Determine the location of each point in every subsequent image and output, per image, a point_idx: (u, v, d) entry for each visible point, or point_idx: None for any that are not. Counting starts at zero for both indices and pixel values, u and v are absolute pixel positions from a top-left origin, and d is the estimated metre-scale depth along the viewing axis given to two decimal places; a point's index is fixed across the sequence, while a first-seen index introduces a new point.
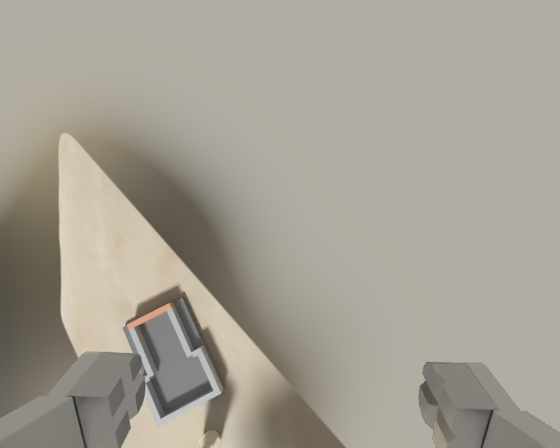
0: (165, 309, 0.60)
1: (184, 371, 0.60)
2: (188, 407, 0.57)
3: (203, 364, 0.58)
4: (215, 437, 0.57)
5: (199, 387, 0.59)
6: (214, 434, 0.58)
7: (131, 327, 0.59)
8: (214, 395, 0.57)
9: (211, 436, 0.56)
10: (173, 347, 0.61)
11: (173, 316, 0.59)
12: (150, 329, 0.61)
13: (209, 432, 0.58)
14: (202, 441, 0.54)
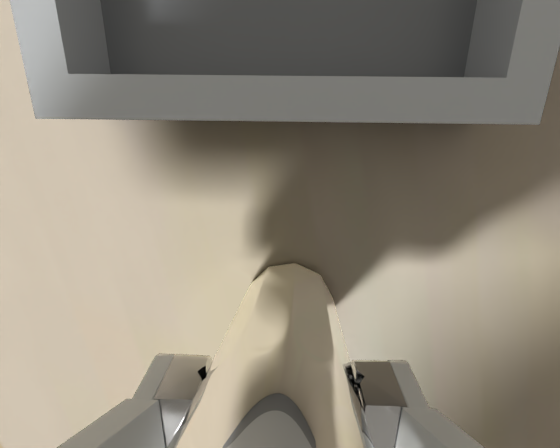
0: None
1: None
2: (284, 98, 0.08)
3: None
4: (336, 323, 0.10)
5: (372, 32, 0.09)
6: (329, 302, 0.11)
7: None
8: (491, 113, 0.08)
9: (328, 314, 0.10)
10: None
11: None
12: None
13: (306, 280, 0.11)
14: (302, 349, 0.07)
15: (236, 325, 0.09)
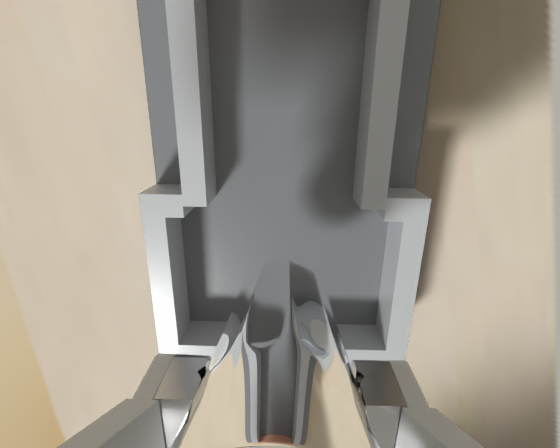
0: None
1: (305, 237, 0.16)
2: None
3: (404, 261, 0.14)
4: (332, 318, 0.11)
5: None
6: (323, 298, 0.11)
7: None
8: None
9: (324, 309, 0.10)
10: (306, 140, 0.15)
11: None
12: (248, 16, 0.13)
13: (301, 277, 0.11)
14: (302, 343, 0.07)
15: (233, 322, 0.09)
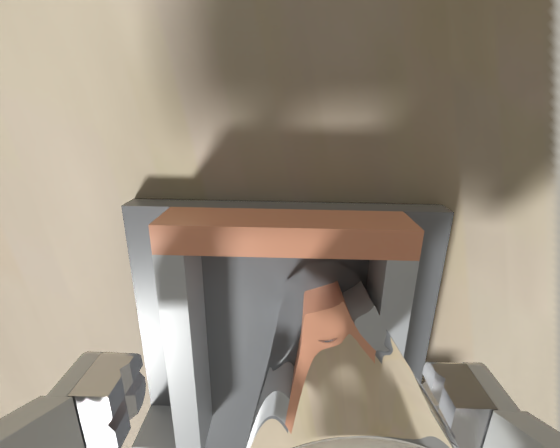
0: (384, 252, 0.10)
1: None
2: None
3: None
4: None
5: None
6: None
7: (171, 251, 0.10)
8: None
9: (375, 308, 0.10)
10: None
11: (402, 302, 0.11)
12: (245, 272, 0.13)
13: (346, 276, 0.11)
14: (367, 340, 0.08)
15: (287, 320, 0.10)
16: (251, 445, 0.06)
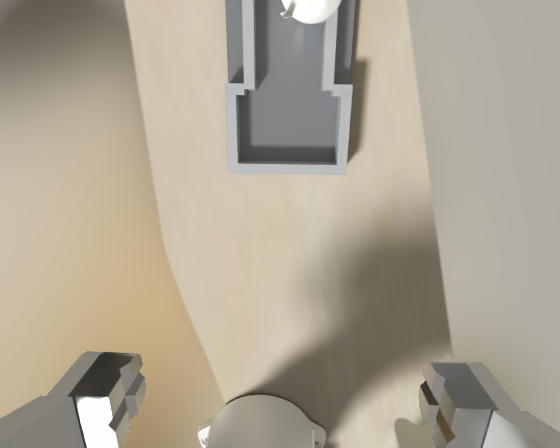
0: None
1: (298, 112, 0.34)
2: (287, 169, 0.34)
3: (342, 116, 0.32)
4: None
5: (309, 149, 0.35)
6: None
7: None
8: (334, 172, 0.34)
9: None
10: (299, 62, 0.32)
11: None
12: (273, 4, 0.31)
13: None
14: None
15: None
16: None
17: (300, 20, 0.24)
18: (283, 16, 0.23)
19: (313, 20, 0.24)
